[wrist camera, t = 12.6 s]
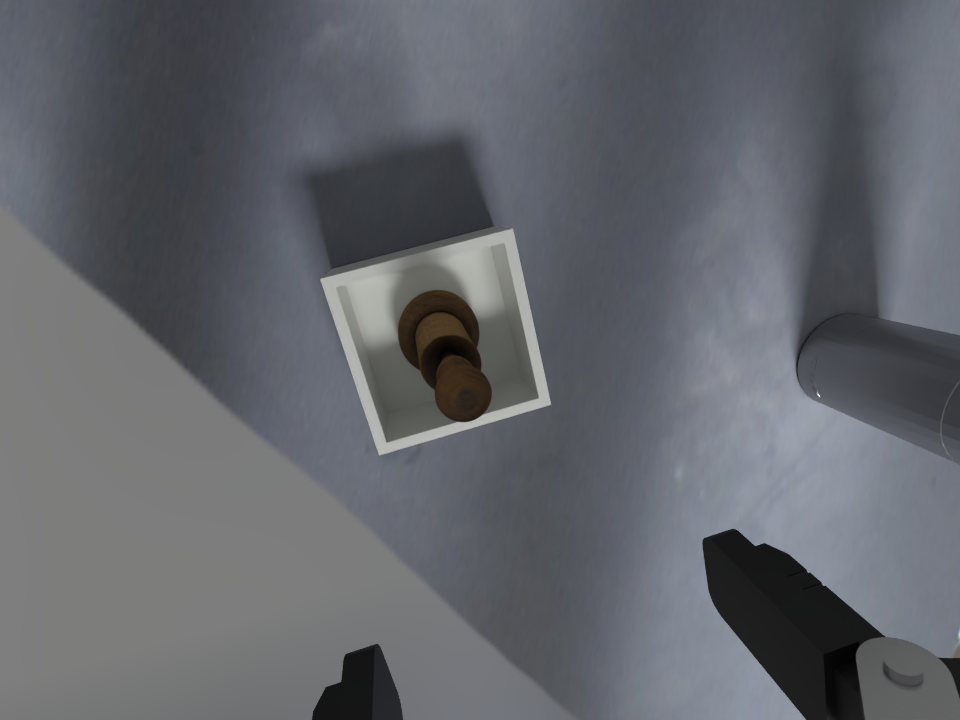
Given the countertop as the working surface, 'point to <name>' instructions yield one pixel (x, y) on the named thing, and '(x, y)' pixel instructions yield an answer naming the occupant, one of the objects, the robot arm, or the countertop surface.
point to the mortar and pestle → (446, 352)
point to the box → (375, 346)
